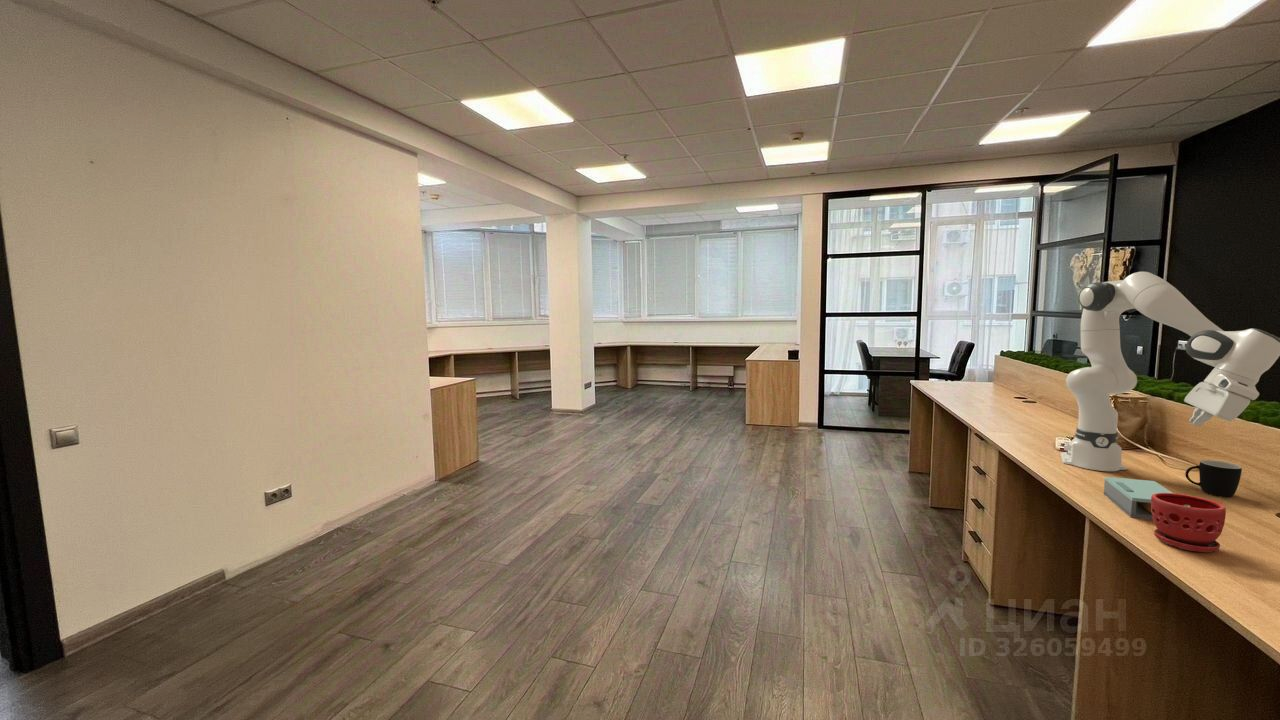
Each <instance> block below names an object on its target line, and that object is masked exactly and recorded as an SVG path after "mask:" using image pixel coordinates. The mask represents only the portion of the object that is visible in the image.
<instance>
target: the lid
mask: <svg viewBox="0 0 1280 720" xmlns="http://www.w3.org/2000/svg"><path fill="white" fill-rule="evenodd" d="M1105 480H1106V481H1107V482H1109V483H1110V484H1111V485H1112V486H1114V487H1115V488H1116V489H1118V490H1119V491H1120V492H1121V493H1123V494H1124V495H1125V496H1126V497H1128V498H1129V499H1130V500H1132V501H1138V502H1147V503H1151V496H1152V495H1153V494H1156V493H1173V492H1172V491H1170V490H1169V489H1168V488H1166V487H1165V486H1163V485H1161V484H1160V483H1158V482H1156V481H1155V480H1147V479H1146V480H1145V479H1133V478H1126V477H1125V478H1124V477H1115V476H1114V477H1113V476H1112V477H1110V476H1105V477H1104V481H1105ZM1184 506H1187V507H1190V506H1189V505H1184Z"/></svg>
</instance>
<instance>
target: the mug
mask: <svg viewBox="0 0 1280 720" xmlns="http://www.w3.org/2000/svg"><path fill="white" fill-rule="evenodd" d="M1194 469H1198V470H1199V482H1195V481H1194V480H1193V479H1191V478H1190V477H1189V474H1190V472H1191V470H1194ZM1242 470H1243V467H1242V466H1240V465H1238V464H1235V463H1231V462H1227V461H1226V462H1225V461H1219V460H1208V459H1203V460H1200V461H1199V465H1194V466H1190V467H1188V468H1187V469H1186V471H1185V474H1184V475H1185V477H1186V479H1187V480H1188V482H1190V483H1191V484H1193V485H1196V486H1198V487H1200V489H1201V491H1202V492H1203V493H1204V492H1205V494H1207V493H1208V494H1207V495H1210V494H1212V495H1211V496H1214V495H1216V497H1219V496H1222V497H1221V498H1232V497H1234V495H1235V494H1236V492H1237V490H1238V487H1239V485H1240V480H1241V476H1242Z"/></svg>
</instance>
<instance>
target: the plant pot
mask: <svg viewBox="0 0 1280 720" xmlns="http://www.w3.org/2000/svg"><path fill="white" fill-rule="evenodd" d="M1184 505H1189V506H1188V507H1187V506H1184ZM1151 511H1152V517H1153V520H1152V521H1153V523H1154V525H1155V527H1156V529H1154V530H1153V534H1154V536H1155V538H1157V539H1158V540H1159V541H1161V542H1163V543H1165V544H1166V545H1168V544H1169V545H1168V546H1172V547H1175V548H1178V549H1181V550H1187V551H1192V552H1198V553H1211V552H1215V551H1217V550H1219V549H1220V547H1221V544H1220V543H1219V541H1217V539H1219V537H1220V535H1222V532H1223V529H1224V527H1225V522H1226V517H1227V516H1226V515H1227V508H1226V506H1225V505H1223V504H1222V503H1219V502H1217V501H1216V500H1215V501H1214V500H1211V499H1208V498H1203V497H1200V496H1195V495H1194V496H1193V495H1189V494H1182V493H1173V492H1172V493H1156V494H1153V495H1152V496H1151Z"/></svg>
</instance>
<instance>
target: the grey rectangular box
mask: <svg viewBox="0 0 1280 720" xmlns="http://www.w3.org/2000/svg"><path fill="white" fill-rule="evenodd" d="M1103 495H1104V496H1105V497H1106V496H1107V497H1108V498H1107V497H1106V498H1107V499H1108V500H1110V501H1111V502H1112V503H1113V504H1114V503H1115V506H1117V507H1118V508H1119V509H1121V510H1122V511H1123V512H1124V513H1125V514H1126V515H1127V516H1129V518H1132V519H1133V518H1134V519H1142V520H1149V521H1153V517H1152V511H1151V503H1147V502H1138V501H1132V500H1130V499H1129V498H1128V497H1126V496H1125V495H1124V494H1123V493H1121V492H1120V491H1119V490H1118V489H1116V488H1115V487H1114V486H1112V485H1111V484H1110V483H1109V482H1107V481H1106V480H1105V479H1104V485H1103Z"/></svg>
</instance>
